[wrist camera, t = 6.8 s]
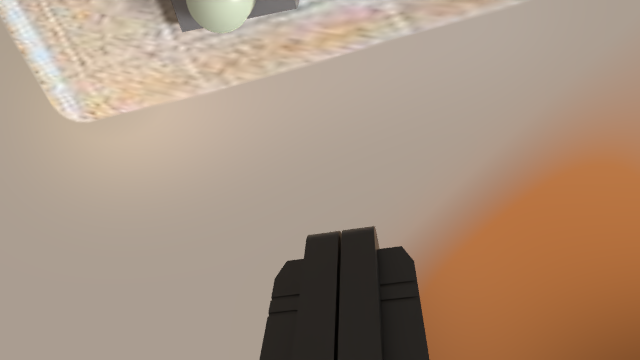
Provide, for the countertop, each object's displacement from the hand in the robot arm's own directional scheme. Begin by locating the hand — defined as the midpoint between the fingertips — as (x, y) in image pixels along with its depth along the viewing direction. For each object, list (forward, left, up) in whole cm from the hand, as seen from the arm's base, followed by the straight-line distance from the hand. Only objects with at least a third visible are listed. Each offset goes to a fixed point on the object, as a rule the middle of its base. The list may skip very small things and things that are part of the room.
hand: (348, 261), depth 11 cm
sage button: (+4, -7, -24) cm, 25 cm away
